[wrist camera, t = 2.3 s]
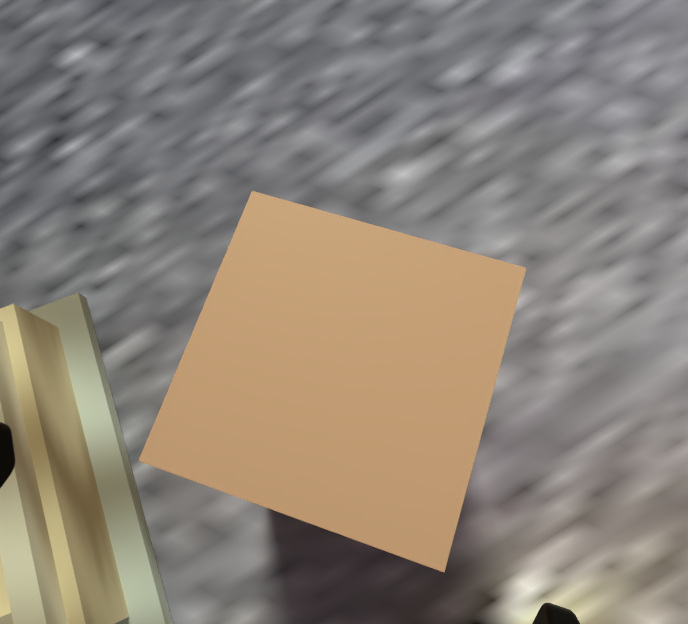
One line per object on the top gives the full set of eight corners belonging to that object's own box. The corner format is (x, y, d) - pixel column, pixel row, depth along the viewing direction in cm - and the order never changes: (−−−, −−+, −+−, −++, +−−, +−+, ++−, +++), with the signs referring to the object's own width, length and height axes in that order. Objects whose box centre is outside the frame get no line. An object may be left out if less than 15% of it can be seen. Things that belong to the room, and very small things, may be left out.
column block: (409, 531, 19) (444, 572, 9) (265, 480, 20) (138, 460, 9) (452, 385, 21) (525, 268, 10) (315, 342, 21) (252, 190, 11)
